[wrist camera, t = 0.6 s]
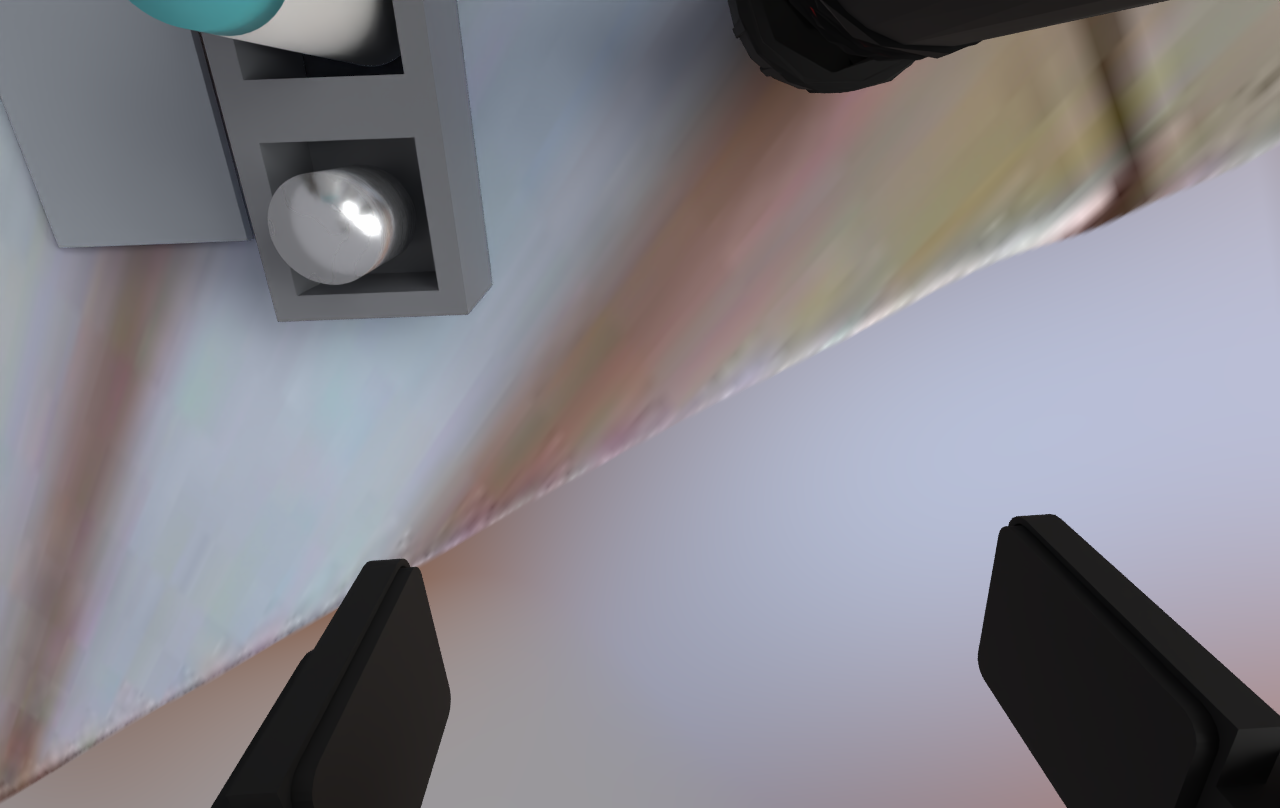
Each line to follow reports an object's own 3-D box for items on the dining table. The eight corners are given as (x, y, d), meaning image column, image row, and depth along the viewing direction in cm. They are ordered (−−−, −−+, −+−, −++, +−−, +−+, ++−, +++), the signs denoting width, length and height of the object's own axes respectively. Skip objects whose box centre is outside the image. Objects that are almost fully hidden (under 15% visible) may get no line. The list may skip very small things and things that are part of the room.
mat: (-52, -68, 29) (-65, -71, 29) (169, -76, 29) (160, -80, 29) (68, 245, 35) (59, 247, 34) (253, 238, 35) (247, 240, 34)
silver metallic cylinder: (311, 166, 30) (254, 175, 25) (407, 163, 30) (367, 170, 25) (333, 262, 32) (283, 286, 27) (423, 259, 32) (389, 282, 27)
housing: (240, -106, 29) (149, -159, 24) (442, -114, 29) (398, -169, 24) (331, 291, 36) (278, 321, 31) (492, 285, 36) (468, 314, 31)
